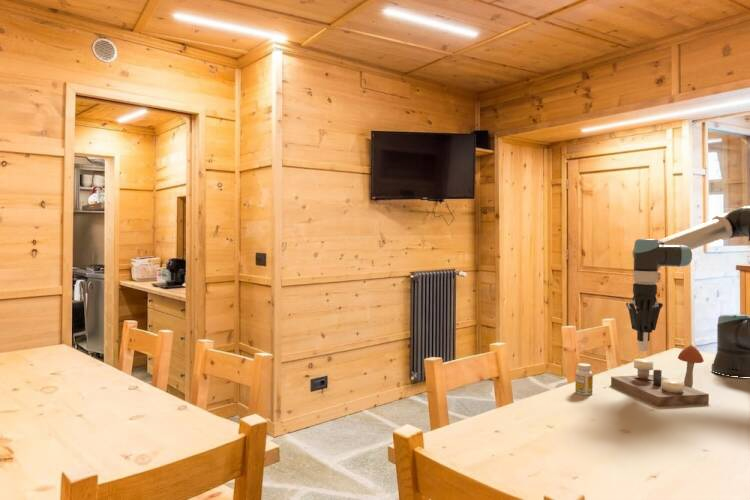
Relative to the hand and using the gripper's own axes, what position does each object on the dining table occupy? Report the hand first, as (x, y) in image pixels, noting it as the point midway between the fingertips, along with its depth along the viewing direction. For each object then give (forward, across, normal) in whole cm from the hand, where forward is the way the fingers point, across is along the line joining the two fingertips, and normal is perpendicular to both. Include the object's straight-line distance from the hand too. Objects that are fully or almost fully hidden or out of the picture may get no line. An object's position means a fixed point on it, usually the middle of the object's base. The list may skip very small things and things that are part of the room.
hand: (642, 350), depth 186 cm
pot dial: (+10, 0, +7) cm, 12 cm away
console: (+13, 0, +7) cm, 15 cm away
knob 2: (+13, 0, +14) cm, 19 cm away
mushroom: (+13, -18, +2) cm, 22 cm away
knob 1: (+9, 0, 0) cm, 9 cm away
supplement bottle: (+14, +24, +2) cm, 27 cm away
